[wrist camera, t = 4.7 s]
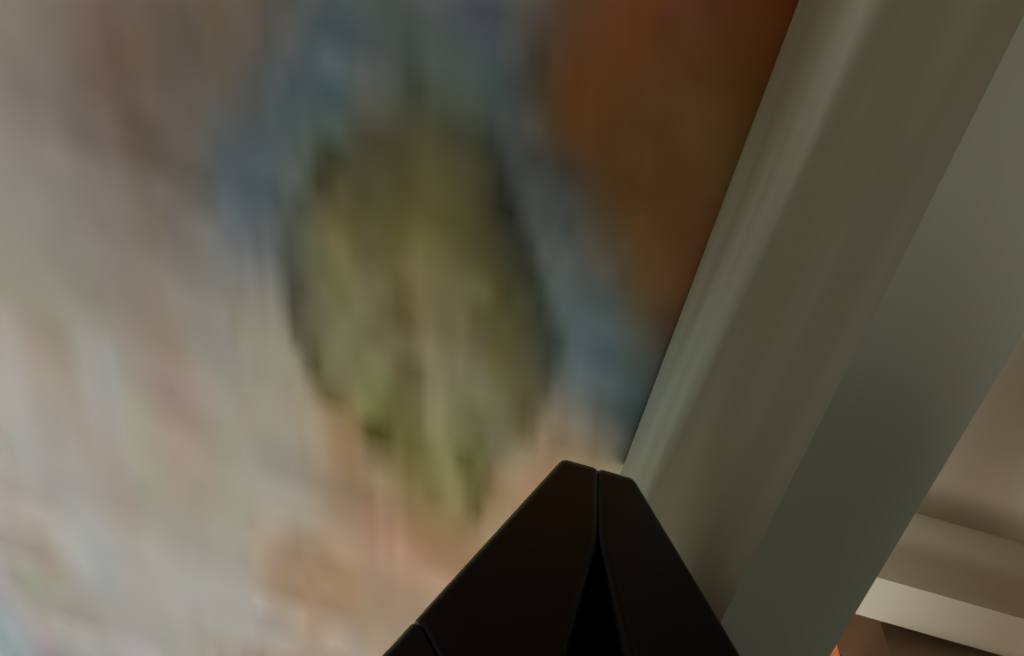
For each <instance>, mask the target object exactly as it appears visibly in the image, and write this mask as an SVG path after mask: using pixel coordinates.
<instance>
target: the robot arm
mask: <svg viewBox="0 0 1024 656" xmlns="http://www.w3.org/2000/svg"><path fill="white" fill-rule="evenodd" d="M382 656H740V654H739V653H738V651H737V649H736V648H735V646H734V644H733V643H732V641H731V640H730V638H729V636H728V635H727V633H726V631H725V630H724V628H723V626H722V625H721V623H720V621H719V620H718V618H717V616H716V615H715V613H714V611H713V610H712V608H711V606H710V605H709V603H708V601H707V600H706V598H705V596H704V595H703V593H702V591H701V590H700V588H699V586H698V585H697V583H696V582H695V580H694V578H693V577H692V575H691V573H690V572H689V570H688V568H687V567H686V565H685V563H684V562H683V560H682V558H681V557H680V555H679V553H678V552H677V550H676V548H675V547H674V545H673V543H672V542H671V540H670V538H669V537H668V535H667V533H666V532H665V530H664V528H663V527H662V525H661V523H660V522H659V520H658V519H657V517H656V515H655V514H654V512H653V510H652V509H651V507H650V505H649V504H648V502H647V500H646V499H645V497H644V495H643V494H642V492H641V490H640V489H639V487H638V485H637V484H636V482H635V481H634V480H633V479H631V478H629V477H626V476H622V475H618V474H615V473H611V472H607V471H604V470H599V471H597V470H596V469H595V468H593V467H589V466H586V465H582V464H578V463H575V462H571V461H568V460H564V461H561V462H560V463H559V464H558V465H557V466H556V467H555V468H554V469H553V470H552V471H551V472H550V474H549V475H548V476H547V477H546V478H545V479H544V480H543V481H542V482H541V483H540V485H539V486H538V487H537V488H536V489H535V490H534V491H533V492H532V493H531V494H530V495H529V497H528V498H527V499H526V500H525V501H524V502H523V503H522V504H521V505H520V506H519V508H518V509H517V510H516V511H515V512H514V513H513V514H512V515H511V516H510V517H509V518H508V520H507V521H506V522H505V523H504V524H503V525H502V526H501V527H500V528H499V529H498V531H497V532H496V533H495V534H494V535H493V536H492V537H491V538H490V539H489V540H488V541H487V543H486V544H485V545H484V546H483V547H482V548H481V549H480V550H479V551H478V552H477V554H476V555H475V556H474V557H473V558H472V559H471V560H470V561H469V562H468V563H467V564H466V566H465V567H464V568H463V569H462V570H461V571H460V572H459V573H458V574H457V575H456V577H455V578H454V579H453V580H452V581H451V582H450V583H449V584H448V585H447V586H446V587H445V589H444V590H443V591H442V592H441V593H440V594H439V595H438V596H437V597H436V598H435V600H434V601H433V602H432V603H431V604H430V605H429V606H428V607H427V608H426V609H425V610H424V612H423V613H422V614H421V615H420V616H419V617H418V618H417V619H416V621H415V624H412V625H410V626H409V627H408V628H407V630H406V631H405V632H404V633H403V634H402V635H401V636H400V637H399V638H398V639H397V641H396V642H395V643H394V644H393V645H392V646H391V647H390V648H389V649H388V650H387V651H386V652H385V653H384V654H383V655H382Z"/></svg>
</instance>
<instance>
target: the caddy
mask: <svg viewBox="0 0 1024 656" xmlns="http://www.w3.org/2000/svg"><path fill="white" fill-rule="evenodd" d="M837 646H838V650H839V654H840V656H1002V655H998V654H995V653H991V652H988V651H984V650H981V649H977V648H974V647H970V646H967V645H963V644H960V643H956V642H953V641H949V640H945V639H942V638H938V637H935V636H931V635H928V634H924V633H921V632H917V631H914V630H910V629H907V628H903V627H900V626H896V625H893V624H889V623H886V622H882V621H879V620H875V619H872V618H868V617H865V616H861V615H858V614H855V615H854V616H853V618H852V620H851V621H850V623H849V624H848V626H847V628H846V629H845V631H844V633H843V634H842V636H841V638H840V639H839V641H838V643H837Z"/></svg>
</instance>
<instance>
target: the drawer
mask: <svg viewBox="0 0 1024 656" xmlns="http://www.w3.org/2000/svg"><path fill="white" fill-rule="evenodd" d="M620 475H622V476H626V477H629V478H631V479H633V480H634V481H635V482H636V484H637V485H638V487H639V489H640V490H641V492H642V494H643V495H644V497H645V499H646V500H647V502H648V504H649V505H650V507H651V509H652V510H653V512H654V514H655V515H656V517H657V519H658V520H659V522H660V523H661V525H662V527H663V528H664V530H665V532H666V533H667V535H668V537H669V538H670V540H671V542H672V543H673V545H674V547H675V548H676V550H677V552H678V553H679V555H680V557H681V558H682V560H683V562H684V563H685V565H686V567H687V568H688V570H689V572H690V573H691V575H692V577H693V578H694V580H695V582H696V583H697V585H698V586H699V588H700V590H701V591H702V593H703V595H704V596H705V598H706V600H707V601H708V603H709V605H710V606H711V608H712V610H713V611H714V613H715V615H716V616H717V618H718V620H719V621H720V623H721V625H722V626H723V628H724V630H725V631H726V633H727V635H728V636H729V638H730V640H731V641H732V643H733V644H734V646H735V648H736V649H737V651H738V653H739V654H740V656H830V654H831V653H832V651H833V649H834V648H835V646H836V644H837V643H838V641H839V639H840V638H841V636H842V634H843V633H844V631H845V629H846V628H847V626H848V624H849V623H850V621H851V620H852V618H853V616H854V615H855V614H858V615H861V616H865V617H868V618H872V619H875V620H879V621H882V622H886V623H889V624H893V625H896V626H900V627H903V628H907V629H910V630H914V631H917V632H921V633H924V634H928V635H931V636H935V637H938V638H942V639H945V640H949V641H953V642H956V643H960V644H963V645H967V646H970V647H974V648H977V649H981V650H984V651H988V652H991V653H995V654H998V655H1002V656H1024V0H799V2H798V4H797V7H796V10H795V12H794V15H793V18H792V20H791V23H790V26H789V28H788V31H787V34H786V36H785V39H784V42H783V44H782V47H781V50H780V52H779V55H778V57H777V60H776V63H775V65H774V68H773V71H772V73H771V76H770V79H769V81H768V84H767V87H766V89H765V92H764V95H763V97H762V100H761V103H760V105H759V108H758V111H757V113H756V116H755V118H754V121H753V124H752V126H751V129H750V132H749V134H748V137H747V140H746V142H745V145H744V148H743V150H742V153H741V156H740V158H739V161H738V164H737V166H736V169H735V172H734V174H733V177H732V179H731V182H730V185H729V187H728V190H727V193H726V195H725V198H724V201H723V203H722V206H721V209H720V211H719V214H718V217H717V219H716V222H715V225H714V227H713V230H712V233H711V235H710V238H709V240H708V243H707V246H706V248H705V251H704V254H703V256H702V259H701V262H700V264H699V267H698V270H697V272H696V275H695V278H694V280H693V283H692V286H691V288H690V291H689V294H688V296H687V299H686V301H685V304H684V307H683V309H682V312H681V315H680V317H679V320H678V323H677V325H676V328H675V331H674V333H673V336H672V339H671V341H670V344H669V347H668V349H667V352H666V355H665V357H664V360H663V362H662V365H661V368H660V370H659V373H658V376H657V378H656V381H655V384H654V386H653V389H652V392H651V394H650V397H649V400H648V402H647V405H646V408H645V410H644V413H643V416H642V418H641V421H640V423H639V426H638V429H637V431H636V434H635V437H634V439H633V442H632V445H631V447H630V450H629V453H628V455H627V458H626V461H625V463H624V466H623V469H622V471H621V474H620Z"/></svg>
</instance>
